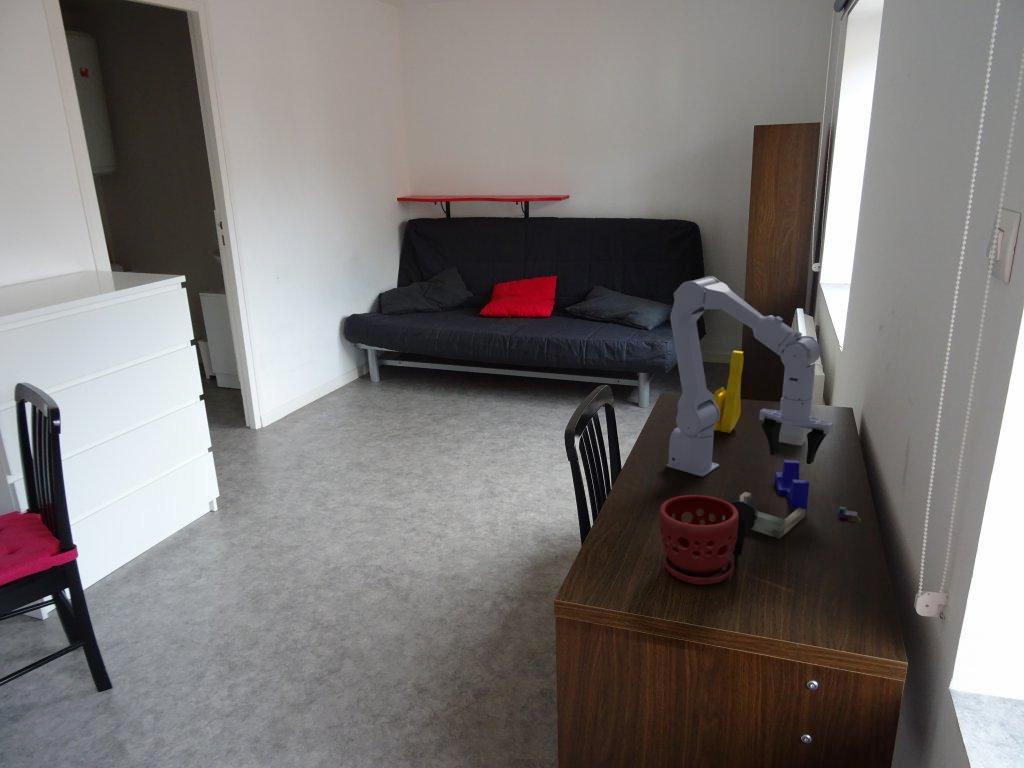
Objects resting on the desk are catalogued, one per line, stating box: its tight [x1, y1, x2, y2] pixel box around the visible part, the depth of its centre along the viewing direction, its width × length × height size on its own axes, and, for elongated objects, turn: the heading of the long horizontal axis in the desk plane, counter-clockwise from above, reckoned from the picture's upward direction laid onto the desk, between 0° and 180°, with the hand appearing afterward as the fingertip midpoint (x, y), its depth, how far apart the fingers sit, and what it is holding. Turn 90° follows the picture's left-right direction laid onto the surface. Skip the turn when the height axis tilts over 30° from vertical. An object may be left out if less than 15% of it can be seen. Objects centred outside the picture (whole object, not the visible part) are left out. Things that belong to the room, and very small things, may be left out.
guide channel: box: [722, 491, 807, 539], centre depth 144 cm, size 13×12×3 cm
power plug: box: [724, 495, 759, 569], centre depth 127 cm, size 6×8×12 cm
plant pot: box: [659, 494, 738, 585], centre depth 124 cm, size 13×13×12 cm
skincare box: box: [779, 397, 807, 447], centre depth 180 cm, size 6×4×12 cm
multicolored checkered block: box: [838, 506, 862, 524], centre depth 142 cm, size 4×3×2 cm, turn 66°
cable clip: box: [774, 459, 810, 510], centre depth 152 cm, size 12×4×6 cm, turn 169°
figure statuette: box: [713, 350, 745, 434], centre depth 188 cm, size 18×8×22 cm, turn 155°
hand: (791, 458), depth 151 cm, fingers open, 7 cm apart
